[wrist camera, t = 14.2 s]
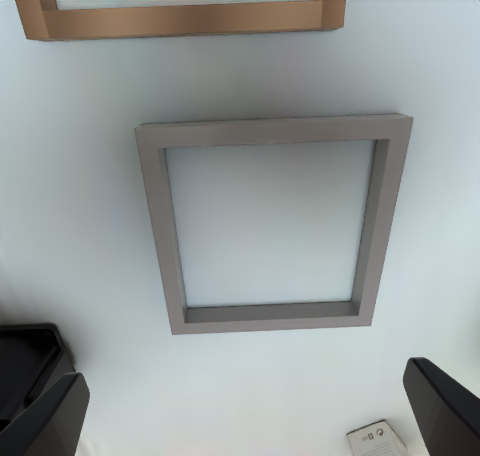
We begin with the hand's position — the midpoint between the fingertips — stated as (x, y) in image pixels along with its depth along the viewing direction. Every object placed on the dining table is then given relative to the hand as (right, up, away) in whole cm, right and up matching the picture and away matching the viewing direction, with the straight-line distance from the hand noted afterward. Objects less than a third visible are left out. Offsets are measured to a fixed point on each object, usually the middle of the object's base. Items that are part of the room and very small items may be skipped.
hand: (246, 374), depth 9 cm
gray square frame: (+2, +4, +12) cm, 12 cm away
